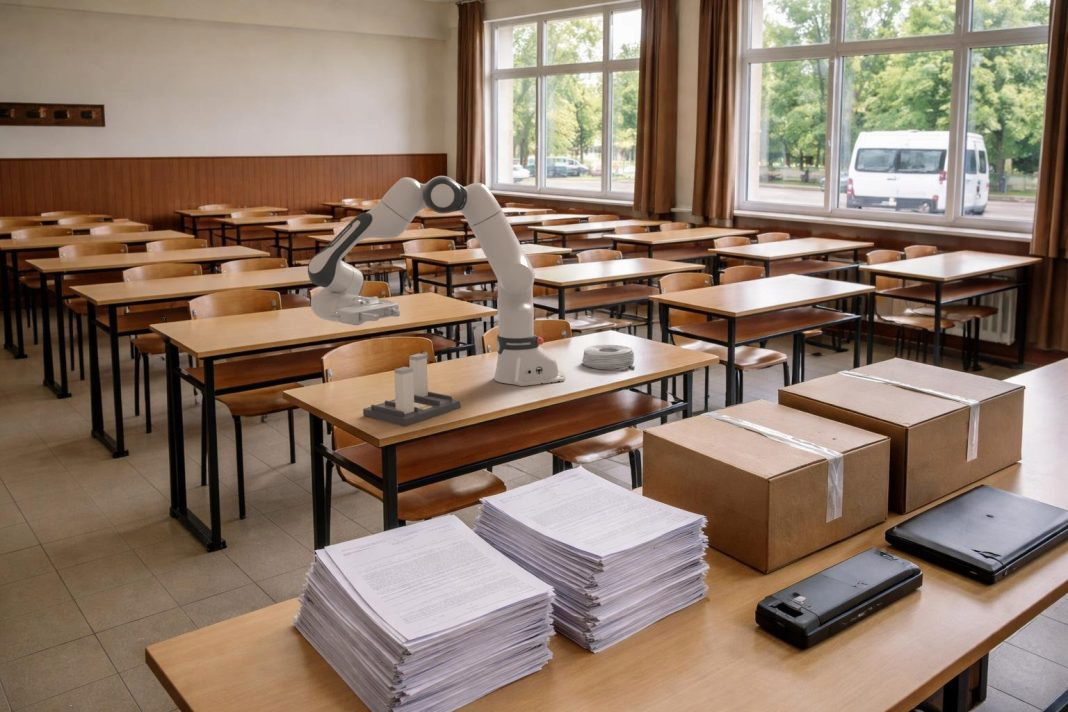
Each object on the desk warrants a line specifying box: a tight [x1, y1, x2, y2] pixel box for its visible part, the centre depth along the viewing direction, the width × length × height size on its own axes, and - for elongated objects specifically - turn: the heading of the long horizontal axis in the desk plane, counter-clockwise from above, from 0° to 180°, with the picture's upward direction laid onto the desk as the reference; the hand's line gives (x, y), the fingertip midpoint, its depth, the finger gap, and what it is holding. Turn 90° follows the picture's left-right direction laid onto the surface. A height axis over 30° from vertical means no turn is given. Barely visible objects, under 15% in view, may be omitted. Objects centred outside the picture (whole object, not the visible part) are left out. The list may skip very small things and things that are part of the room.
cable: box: [581, 344, 636, 372], centre depth 314 cm, size 18×18×6 cm
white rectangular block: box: [393, 366, 414, 414], centre depth 250 cm, size 3×4×12 cm
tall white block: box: [408, 352, 429, 397], centre depth 266 cm, size 3×4×12 cm
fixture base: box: [362, 391, 461, 427], centre depth 259 cm, size 16×22×3 cm
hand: (387, 315), depth 269 cm, fingers open, 7 cm apart
